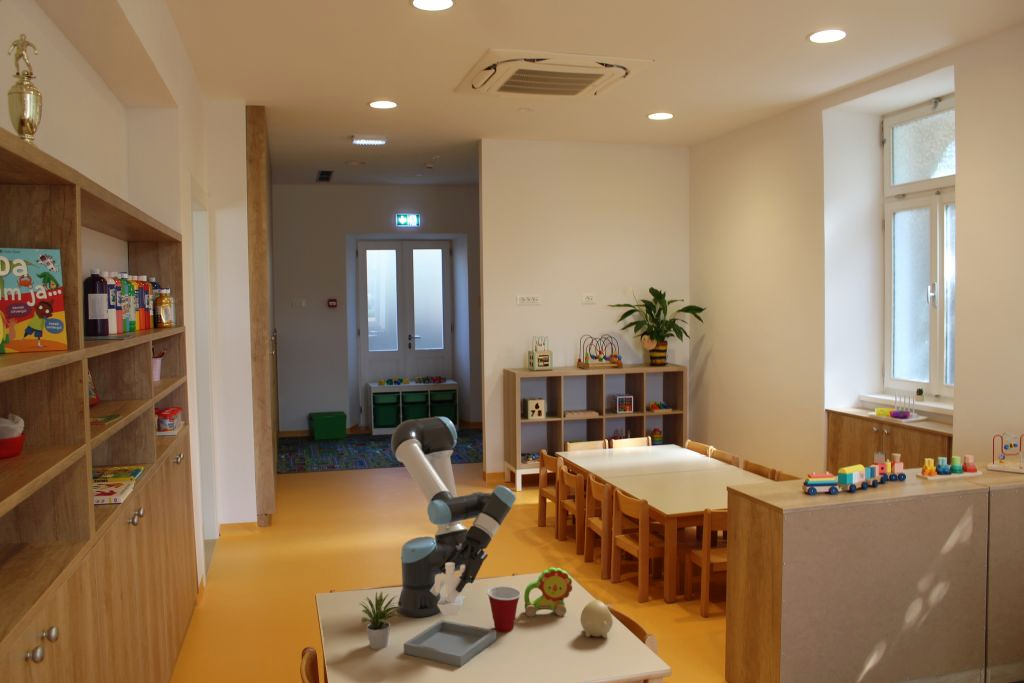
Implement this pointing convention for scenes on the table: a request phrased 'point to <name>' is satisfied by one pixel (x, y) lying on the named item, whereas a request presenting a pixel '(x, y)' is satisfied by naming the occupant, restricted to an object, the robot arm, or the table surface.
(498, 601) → the plastic cup
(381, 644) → the house plant
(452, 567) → the figurine
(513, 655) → the table surface
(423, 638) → the tray
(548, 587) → the toy lion
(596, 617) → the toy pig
